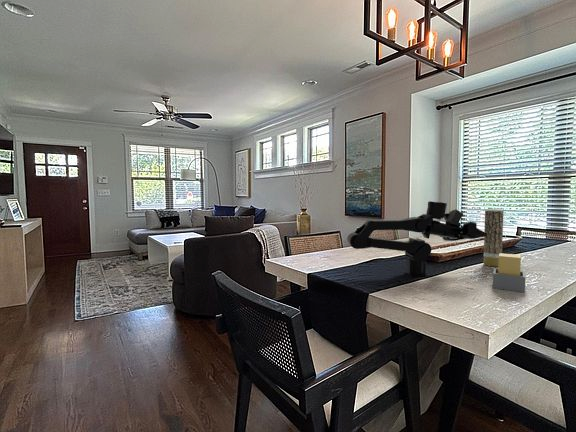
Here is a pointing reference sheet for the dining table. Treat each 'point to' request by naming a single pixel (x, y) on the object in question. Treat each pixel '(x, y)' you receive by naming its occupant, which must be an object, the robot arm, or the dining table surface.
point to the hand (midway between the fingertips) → (479, 235)
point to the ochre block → (509, 264)
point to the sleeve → (509, 281)
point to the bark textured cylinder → (493, 236)
